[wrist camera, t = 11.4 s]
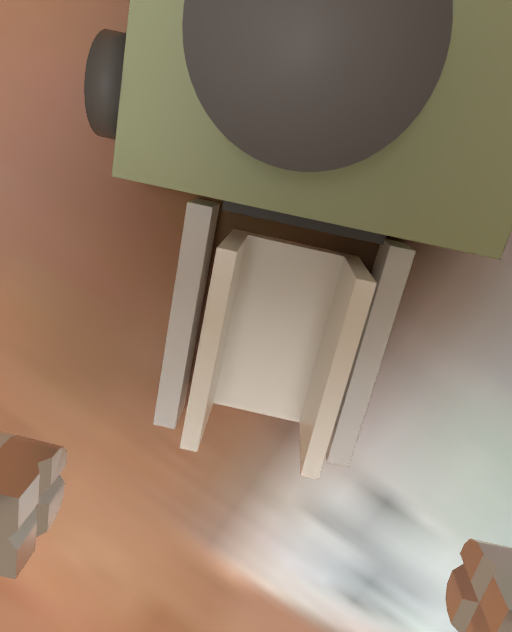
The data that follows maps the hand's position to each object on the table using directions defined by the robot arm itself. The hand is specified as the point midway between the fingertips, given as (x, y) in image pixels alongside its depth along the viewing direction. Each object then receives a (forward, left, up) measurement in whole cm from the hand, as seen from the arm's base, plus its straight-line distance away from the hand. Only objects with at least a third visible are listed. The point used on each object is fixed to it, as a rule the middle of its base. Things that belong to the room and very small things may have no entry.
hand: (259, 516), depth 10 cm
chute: (0, 0, -13) cm, 13 cm away
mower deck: (-6, -1, -13) cm, 14 cm away
